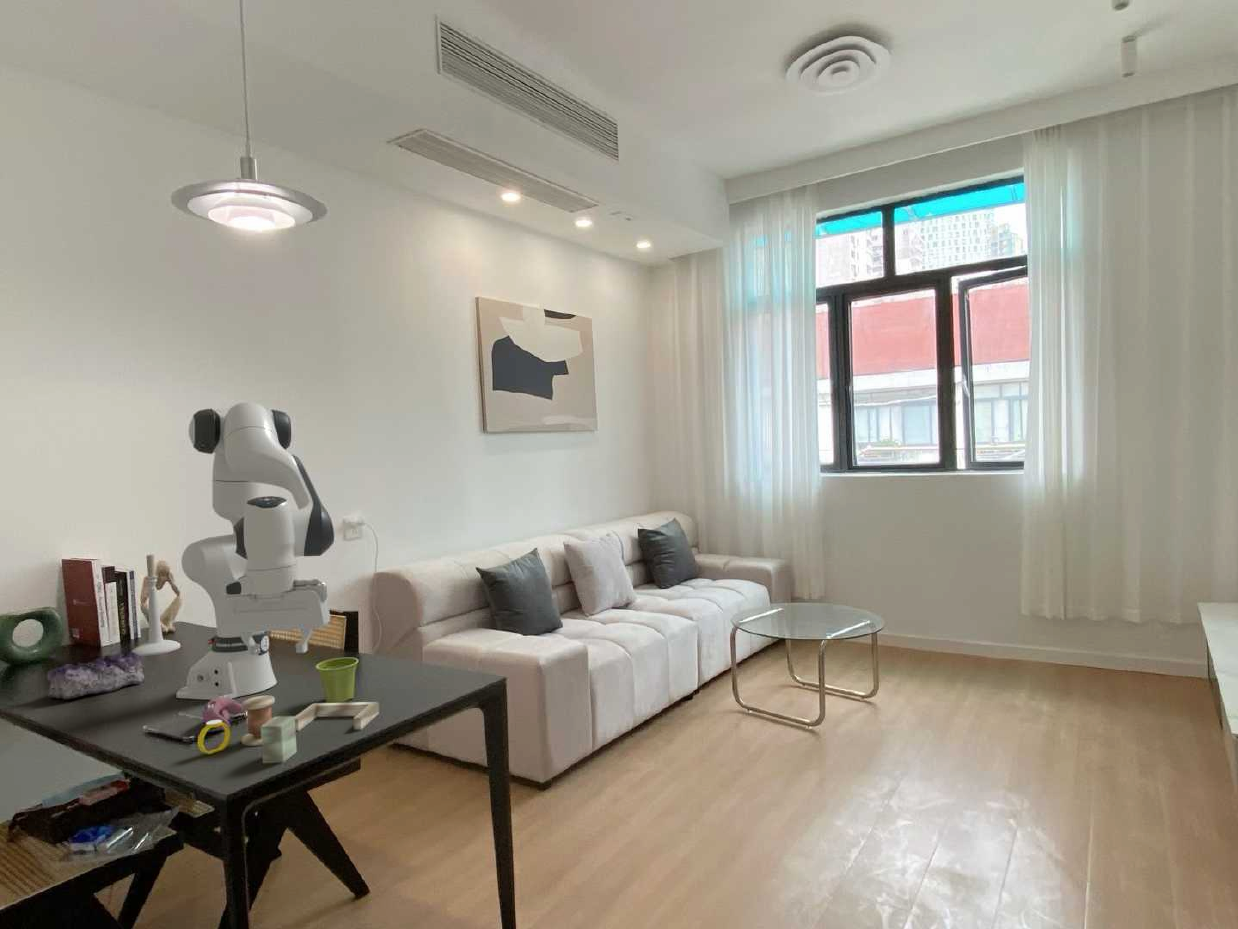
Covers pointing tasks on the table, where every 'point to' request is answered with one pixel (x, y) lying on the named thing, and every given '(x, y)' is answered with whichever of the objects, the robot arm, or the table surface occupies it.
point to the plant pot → (338, 678)
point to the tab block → (278, 739)
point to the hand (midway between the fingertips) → (278, 653)
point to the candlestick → (154, 620)
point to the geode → (95, 676)
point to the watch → (201, 736)
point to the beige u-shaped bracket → (339, 713)
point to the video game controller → (221, 710)
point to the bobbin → (257, 718)
